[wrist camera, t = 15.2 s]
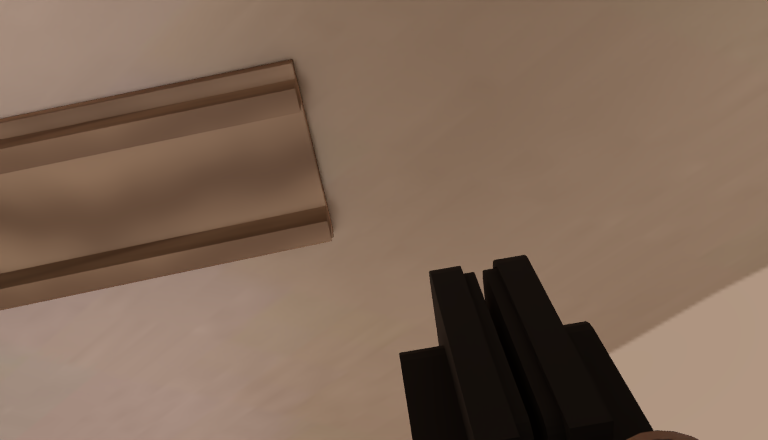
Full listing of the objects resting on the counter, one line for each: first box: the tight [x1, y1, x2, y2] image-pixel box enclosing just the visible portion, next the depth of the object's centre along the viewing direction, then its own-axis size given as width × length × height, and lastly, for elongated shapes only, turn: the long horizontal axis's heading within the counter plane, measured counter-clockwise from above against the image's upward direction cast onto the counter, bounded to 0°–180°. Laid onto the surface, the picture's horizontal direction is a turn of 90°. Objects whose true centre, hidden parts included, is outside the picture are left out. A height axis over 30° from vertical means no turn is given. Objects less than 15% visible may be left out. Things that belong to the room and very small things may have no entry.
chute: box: [0, 59, 334, 310], centre depth 35 cm, size 10×28×6 cm, turn 101°
